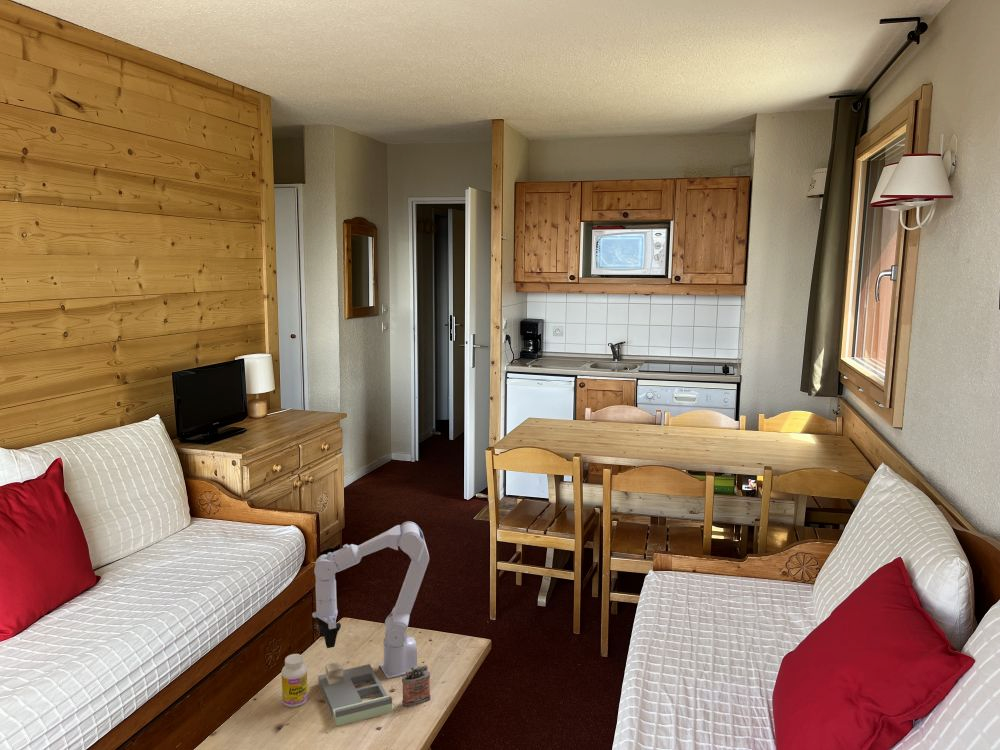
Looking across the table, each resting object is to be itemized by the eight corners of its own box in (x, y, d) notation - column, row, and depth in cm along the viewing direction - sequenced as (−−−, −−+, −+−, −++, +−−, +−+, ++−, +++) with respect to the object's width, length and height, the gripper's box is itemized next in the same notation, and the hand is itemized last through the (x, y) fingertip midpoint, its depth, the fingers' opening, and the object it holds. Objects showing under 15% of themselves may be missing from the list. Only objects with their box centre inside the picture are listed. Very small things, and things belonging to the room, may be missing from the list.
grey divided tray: (369, 671, 222) (369, 659, 221) (392, 712, 202) (392, 698, 202) (318, 683, 216) (318, 670, 215) (336, 726, 196) (336, 712, 195)
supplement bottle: (286, 711, 203) (284, 668, 200) (279, 697, 208) (277, 656, 205) (311, 703, 206) (309, 661, 203) (303, 689, 212) (301, 648, 209)
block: (339, 674, 216) (339, 661, 215) (343, 681, 212) (342, 668, 212) (325, 677, 214) (325, 664, 214) (329, 684, 211) (328, 671, 210)
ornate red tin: (404, 708, 204) (404, 674, 202) (400, 702, 207) (399, 668, 205) (432, 700, 208) (432, 666, 206) (427, 694, 210) (427, 661, 209)
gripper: (307, 589, 221) (308, 633, 223) (317, 610, 208) (319, 656, 211) (331, 585, 224) (332, 628, 226) (342, 605, 211) (344, 650, 214)
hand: (327, 641), depth 219 cm, fingers open, 6 cm apart
